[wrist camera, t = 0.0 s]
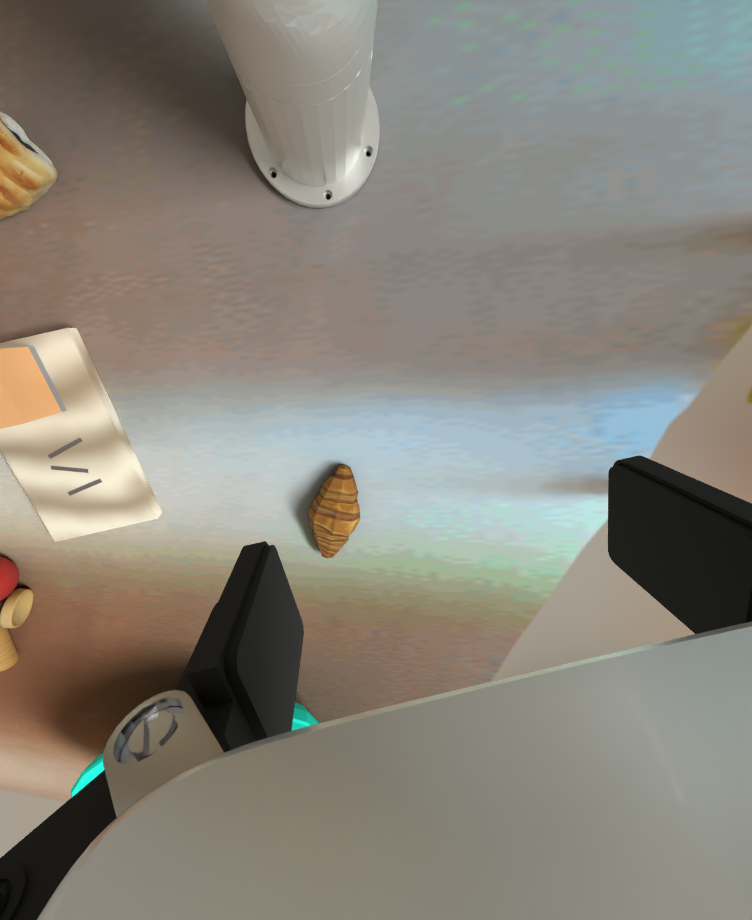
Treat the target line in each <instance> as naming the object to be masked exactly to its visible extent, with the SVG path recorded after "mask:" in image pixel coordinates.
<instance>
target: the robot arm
mask: <svg viewBox="0 0 752 920" xmlns="http://www.w3.org/2000/svg"><path fill="white" fill-rule="evenodd" d="M205 2H206V4H207V7H208V9H209V11H210V13H211V16H212V18H213V20H214V23H215V25H216V27H217V30H218V32H219V34H220V37H221V39H222V41H223V44H224V46H225V49H226V51H227V53H228V56H229V58H230V60H231V63H232V65H233V68H234V70H235V72H236V75H237V77H238V79H239V82H240V84H241V87H242V89H243V91H244V94H245V96H246V98H247V99H246V106H245V127H246V132H247V138H248V143H249V145H250V148H251V151H252V154H253V157H254V159H255V161H256V163H257V165H258V167H259V168H260V170H261V172H262V173H263V175H264V176H265V178H266V179H267V181H268V182H269V183H270V184H271V185H272V186H273V187H274V188H275V189H276V190H277V191H278V192H279V193H281V194H282V195H283V196H284V197H286V198H287V199H289V200H291V201H293V202H295V203H297V204H300V205H303V206H307V207H313V208H325V207H331V206H335V205H337V204H339V203H342V202H344V201H346V200H347V199H349V198H350V197H351V196H353V195H354V194H355V193H356V192H357V191H358V190H359V189H360V188H361V187H362V186H363V184H364V183H365V181H366V180H367V178H368V177H369V175H370V173H371V170H372V168H373V165H374V163H375V160H376V155H377V151H378V145H379V137H380V128H379V116H378V110H377V105H376V102H375V99H374V95H373V92H372V90H371V88H370V86H369V81H370V72H371V63H372V54H373V45H374V35H375V25H376V15H377V5H378V0H205ZM367 152H369V153H370V154H371V156H370V157H367V156H366V153H367ZM273 173H275V174H277V176H276V177H275V178H273V177H272V174H273ZM327 195H330V196H331V198H330V199H329V200H327V199H326V196H327ZM608 552H609V555H610V558H611V559H612V561H613V562H614V563H615V564H616V565H617V566H618V567H619V568H620V569H622V570H623V571H624V572H625V573H626V574H627V575H629V576H630V577H631V578H632V579H633V580H634V581H636V582H637V583H638V584H639V585H640V586H641V587H642V588H643V589H645V590H646V591H647V592H648V593H649V594H650V595H651V596H653V597H654V598H655V599H656V600H657V601H658V602H660V603H661V604H662V605H663V606H664V607H665V608H666V609H667V610H669V611H670V612H671V613H672V614H673V615H674V616H676V617H677V618H678V619H679V620H680V621H681V622H682V623H684V624H685V625H686V626H687V627H688V628H689V629H690V630H692V631H693V632H694V633H695V634H694V635H691V636H686V637H681V638H677V639H672V640H668V641H664V642H659V643H655V644H650V645H646V646H642V647H637V648H633V649H629V650H624V651H620V652H616V653H611V654H607V655H603V656H598V657H594V658H590V659H585V660H581V661H577V662H573V663H569V664H564V665H560V666H556V667H551V668H547V669H543V670H538V671H534V672H530V673H526V674H521V675H517V676H513V677H509V678H504V679H500V680H496V681H491V682H487V683H483V684H479V685H475V686H471V687H466V688H462V689H458V690H454V691H450V692H446V693H441V694H437V695H433V696H429V697H425V698H421V699H416V700H412V701H408V702H404V703H400V704H395V705H391V706H387V707H383V708H379V709H375V710H370V711H366V712H362V713H358V714H355V715H351V716H347V717H343V718H339V719H335V720H331V721H327V722H323V723H319V724H315V725H311V726H308V727H304V728H300V729H297V730H293V731H292V723H293V715H294V707H295V699H296V691H297V683H298V675H299V667H300V660H301V652H302V644H303V636H304V629H303V623H302V619H301V617H300V614H299V611H298V608H297V605H296V603H295V600H294V597H293V594H292V591H291V589H290V586H289V583H288V580H287V577H286V575H285V572H284V569H283V566H282V563H281V561H280V558H279V555H278V552H277V550H276V547H275V546H274V545H271V546H269V545H268V544H267V542H265V541H264V542H260V543H256V544H251V545H247V546H244V547H243V548H242V550H241V553H240V555H239V557H238V559H237V562H236V564H235V566H234V568H233V570H232V573H231V575H230V577H229V579H228V582H227V584H226V586H225V588H224V590H223V593H222V595H221V597H220V599H219V602H218V603H216V605H215V606H214V608H213V610H212V612H211V614H210V617H209V619H208V621H207V623H206V625H205V628H204V630H203V632H202V634H201V636H200V639H199V641H198V643H197V645H196V647H195V649H194V652H193V654H192V656H191V658H190V660H189V663H188V665H187V667H186V669H185V671H184V673H183V676H182V678H181V680H180V682H179V684H178V687H177V689H176V690H172V691H165V692H163V693H160V694H158V695H155V696H153V697H151V698H149V699H148V700H146V701H145V702H143V703H141V704H140V705H139V706H137V707H136V708H135V709H134V710H133V711H131V712H130V713H129V714H128V715H127V716H126V717H125V718H124V719H123V720H122V721H121V723H120V724H119V725H118V726H117V727H116V728H115V730H114V732H113V733H112V735H111V736H110V738H109V740H108V741H107V744H106V747H105V750H104V752H103V766H104V771H102V772H101V773H100V774H99V775H98V776H97V777H95V778H94V779H93V780H92V781H91V782H90V783H88V784H87V785H86V786H85V787H84V788H82V789H81V790H80V791H79V792H78V793H77V794H75V795H74V796H73V797H72V798H71V799H70V800H68V801H67V802H66V803H65V804H64V805H63V806H61V807H60V808H59V809H58V810H57V811H55V812H54V813H53V814H52V815H51V816H49V817H48V818H47V819H46V820H45V821H44V822H42V823H41V824H40V825H39V826H38V827H37V828H35V829H34V830H33V831H32V832H31V833H29V834H28V835H27V836H26V837H25V838H24V839H22V840H21V841H20V842H19V843H18V844H17V845H15V846H14V847H13V848H12V849H11V850H10V851H8V852H7V853H6V854H5V855H4V856H2V857H1V858H0V920H752V504H751V503H749V502H746V501H744V500H742V499H740V498H737V497H735V496H733V495H731V494H728V493H726V492H724V491H721V490H719V489H717V488H714V487H712V486H710V485H708V484H705V483H703V482H701V481H698V480H696V479H694V478H691V477H689V476H687V475H684V474H682V473H680V472H677V471H675V470H673V469H671V468H668V467H666V466H664V465H662V464H659V463H657V462H655V461H652V460H650V459H648V458H645V457H643V456H635V457H631V458H626V459H622V460H617V461H616V462H615V463H614V465H613V467H611V468H610V470H609V485H608Z"/></svg>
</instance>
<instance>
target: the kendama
mask: <svg viewBox="0 0 752 920" xmlns="http://www.w3.org/2000/svg"><path fill="white" fill-rule="evenodd" d="M18 580H19V572H18V569H17V567H16V565H15V564H14V563H13V562H11V561H10V560H8V559H6V558H3V557H0V671H4V670H6V669H8V668H10V667H12V666H13V665H14V664H15V663H16V662H17V661H18V658H19V655H18V652H17V650H16V648H15V646H14V643H13V641H12V638H11V635H10V633H9V630H8V628H17V627H19V626H20V625H21V624H22V623H23V622H24V621H25V619H26V618H27V616H28V614H29V612H30V610H31V607H32V603H33V592H32V590H30V589H23V588H19V589H16V590H14V589H15V587H16V586H17V583H18ZM13 590H14V591H13Z"/></svg>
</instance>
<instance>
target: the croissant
mask: <svg viewBox="0 0 752 920" xmlns="http://www.w3.org/2000/svg"><path fill="white" fill-rule="evenodd" d="M357 495H358V490H357V487H356V483H355V479H354V476H353V474H352V471H351V468H350V467H349V466H346V465H339V466H338V467H337V468H336V469H335V471H334V472H333V473H332V474H331V475H330V477H329V478H328V479H327V480H326V481H325V483H324V484H323V485H322V486H321V489H320V493H319V494H318V496H317V497H316V498H315V499H314V500H313V502H312V505H311V507H310V509H309V511H308V515H309V523H310V525H311V527H312V528H313V534H312V535H313V538H314V540H315V542H316V544H317V546H318V548H319V550H320V552H321V554H322V556H323V557H325V558H332V557H333V556H334V555H335V554H336V553H337V552H338V551H339V550H340V549H341V548H342V547H343V545H344V544H345V543H346V542H347V541H348V537H349V535H350V534H351V533H352V532H353V531H354V529H355V528H356V526H357V524H358V523H359V521H360V511H359V504H358V501H357Z"/></svg>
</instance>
